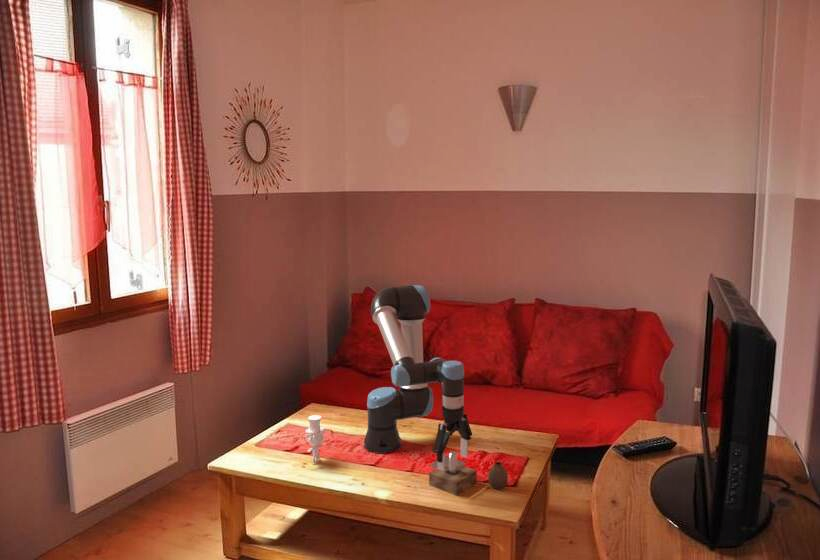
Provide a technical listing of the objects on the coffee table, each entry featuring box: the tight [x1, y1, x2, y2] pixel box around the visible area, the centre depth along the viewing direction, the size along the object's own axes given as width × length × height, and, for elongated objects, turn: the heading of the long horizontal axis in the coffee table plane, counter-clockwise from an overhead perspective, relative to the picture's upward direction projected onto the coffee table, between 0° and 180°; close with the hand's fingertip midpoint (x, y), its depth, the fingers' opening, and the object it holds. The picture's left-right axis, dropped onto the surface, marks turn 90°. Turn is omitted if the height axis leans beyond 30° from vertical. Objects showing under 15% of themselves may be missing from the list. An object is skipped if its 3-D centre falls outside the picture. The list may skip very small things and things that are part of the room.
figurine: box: [303, 414, 326, 464], centre depth 249 cm, size 10×8×18 cm
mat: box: [429, 455, 467, 469], centre depth 246 cm, size 10×10×1 cm
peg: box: [448, 450, 458, 476], centre depth 230 cm, size 3×3×12 cm
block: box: [428, 462, 478, 497], centre depth 230 cm, size 12×12×5 cm
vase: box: [487, 461, 509, 490], centre depth 229 cm, size 7×7×9 cm
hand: (452, 463), depth 229 cm, fingers open, 13 cm apart
